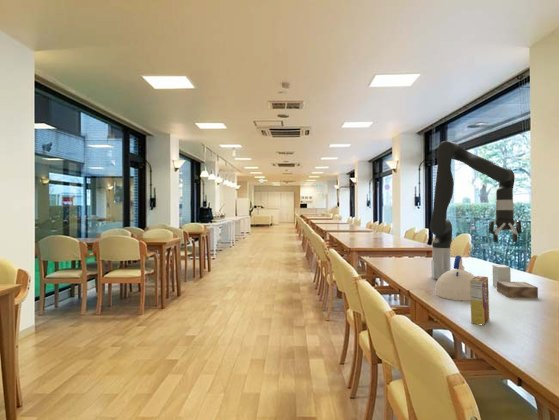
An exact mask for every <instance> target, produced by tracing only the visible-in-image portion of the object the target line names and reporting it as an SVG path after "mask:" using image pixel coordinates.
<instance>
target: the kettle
mask: <svg viewBox="0 0 559 420" xmlns="http://www.w3.org/2000/svg"><path fill="white" fill-rule="evenodd" d="M474 277H476V275H474V274H472V273H471V272H469V271H467V270H465V266H464V265H463V257H462V256H461V255H456V256H455V257H454V262H453V269H451V270H450V271H447V272H445V273H444V274H442V275H441V276H440V277H439V279H436V280H437V281H436V283H435V289H434V294H435V295H436V296H437V297H439V298H442V299H447V300H454V301H461V300H463V301H464V302H465V301H466V302H467V301H469V302H471V295H470V280H471V279H473V278H474Z"/></svg>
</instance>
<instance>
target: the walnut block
mask: <svg viewBox="0 0 559 420" xmlns="http://www.w3.org/2000/svg"><path fill="white" fill-rule="evenodd" d="M496 292H497V293H500V294H501V295H503V296H505V297H506V298H513V299H514V298H517V299H519V298H520V299H538V298H539V287H538V286H535V285H533V284H530V283H529V282H526V281H511V282H503V281H497V287H496Z"/></svg>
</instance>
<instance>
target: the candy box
mask: <svg viewBox="0 0 559 420" xmlns="http://www.w3.org/2000/svg"><path fill="white" fill-rule="evenodd" d="M470 295H471V301H470V321H471V324H472V323H475V324H474V325H477V324H482V325H481V326H485V325H486V324H487V323H488V322H489V320H490V297H489V277H488V276H480V275H479V276H478V275H475V277H474V278H473V279H471V280H470ZM484 324H485V325H484Z"/></svg>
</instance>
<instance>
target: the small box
mask: <svg viewBox="0 0 559 420" xmlns="http://www.w3.org/2000/svg"><path fill="white" fill-rule="evenodd" d="M511 280H512V279H511V266H508V265H505V264H492V286H494V287H495V288H497V281H503V282H512V281H511Z"/></svg>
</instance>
